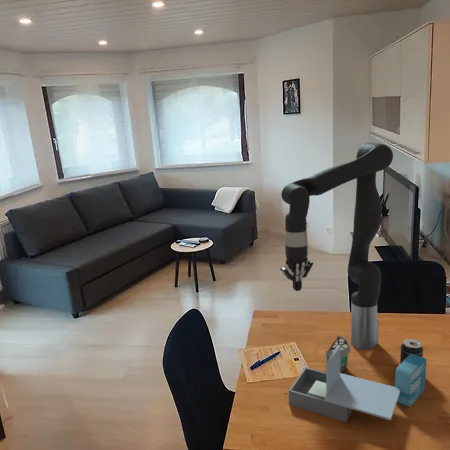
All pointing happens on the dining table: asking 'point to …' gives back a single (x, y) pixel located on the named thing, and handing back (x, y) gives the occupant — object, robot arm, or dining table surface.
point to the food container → (343, 352)
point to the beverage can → (410, 349)
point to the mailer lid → (358, 391)
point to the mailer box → (315, 395)
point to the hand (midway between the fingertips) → (297, 290)
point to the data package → (410, 379)
